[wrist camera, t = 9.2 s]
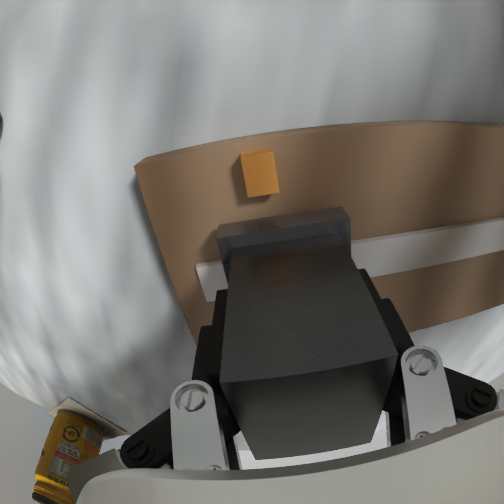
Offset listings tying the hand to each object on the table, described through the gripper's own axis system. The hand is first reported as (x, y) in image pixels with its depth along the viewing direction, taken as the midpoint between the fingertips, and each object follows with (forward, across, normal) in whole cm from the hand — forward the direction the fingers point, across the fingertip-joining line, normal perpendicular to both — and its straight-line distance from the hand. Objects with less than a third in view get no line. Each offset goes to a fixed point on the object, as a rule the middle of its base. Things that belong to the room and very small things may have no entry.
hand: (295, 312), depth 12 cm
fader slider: (+2, 0, 0) cm, 2 cm away
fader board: (+4, -8, 0) cm, 10 cm away
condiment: (+5, +24, +18) cm, 30 cm away
